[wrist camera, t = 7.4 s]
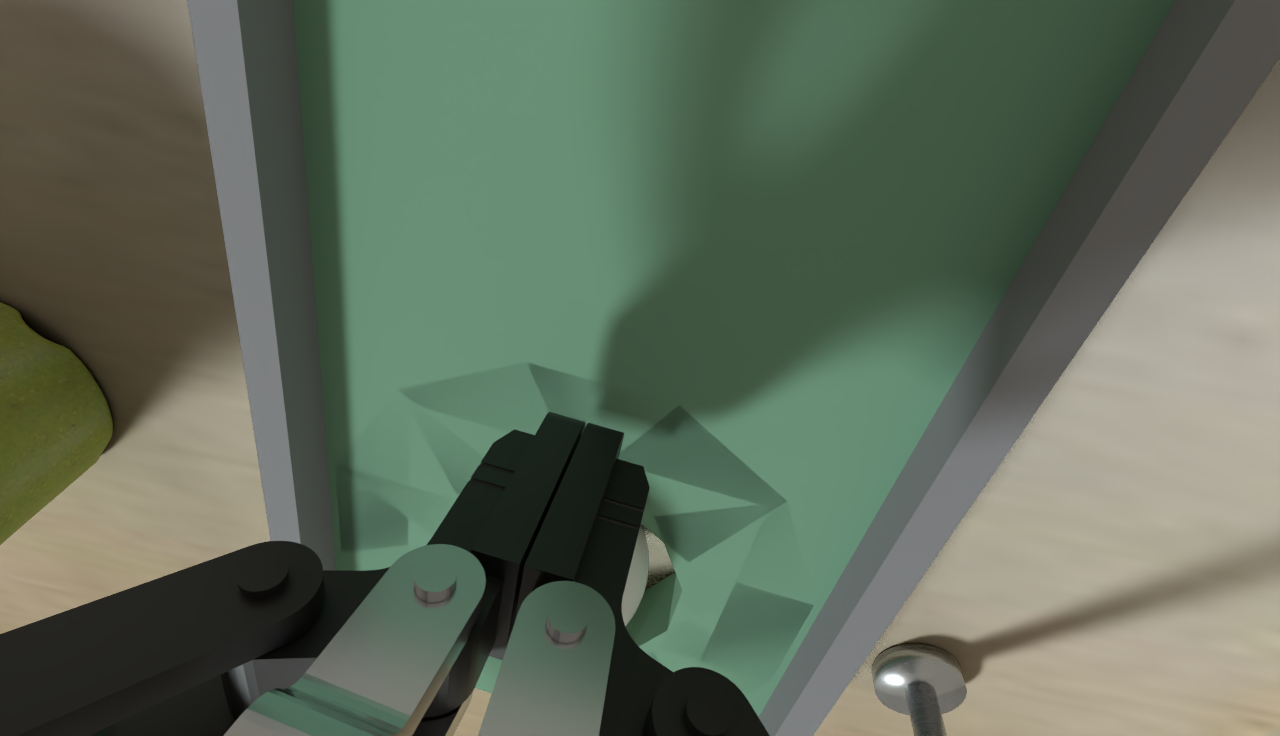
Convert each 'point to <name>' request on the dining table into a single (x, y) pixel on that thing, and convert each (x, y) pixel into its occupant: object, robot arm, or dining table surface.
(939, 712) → the pin
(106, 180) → the dining table surface
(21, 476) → the plant pot
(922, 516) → the lane
